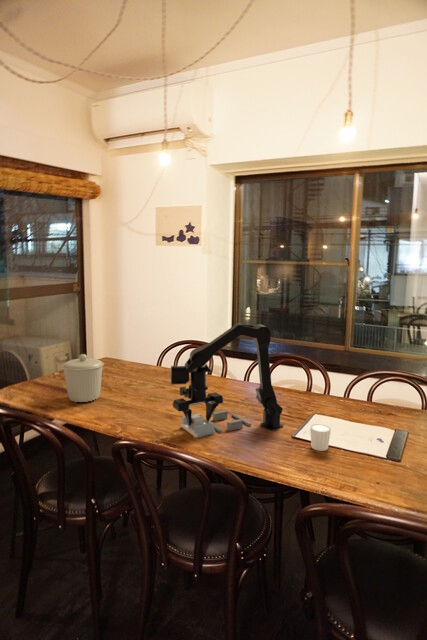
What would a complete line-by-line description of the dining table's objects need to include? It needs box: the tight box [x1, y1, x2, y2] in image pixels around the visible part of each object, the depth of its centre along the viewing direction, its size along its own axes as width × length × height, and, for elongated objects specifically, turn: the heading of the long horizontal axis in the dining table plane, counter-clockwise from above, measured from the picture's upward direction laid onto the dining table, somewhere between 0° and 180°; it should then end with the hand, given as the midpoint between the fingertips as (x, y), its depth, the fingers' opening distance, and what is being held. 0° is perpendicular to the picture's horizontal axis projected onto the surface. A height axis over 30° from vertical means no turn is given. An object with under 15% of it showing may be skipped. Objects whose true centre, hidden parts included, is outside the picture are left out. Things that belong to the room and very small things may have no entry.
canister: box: [61, 353, 105, 403], centre depth 191 cm, size 18×18×21 cm
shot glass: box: [309, 423, 332, 452], centre depth 145 cm, size 7×7×7 cm
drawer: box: [181, 413, 216, 439], centre depth 159 cm, size 11×8×4 cm
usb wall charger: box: [188, 415, 207, 430], centre depth 159 cm, size 4×7×4 cm, turn 133°
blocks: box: [204, 409, 252, 434], centre depth 165 cm, size 12×14×3 cm
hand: (198, 423), depth 159 cm, fingers closed on usb wall charger, 7 cm apart
